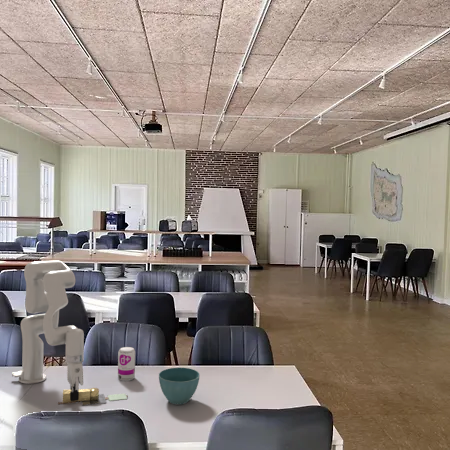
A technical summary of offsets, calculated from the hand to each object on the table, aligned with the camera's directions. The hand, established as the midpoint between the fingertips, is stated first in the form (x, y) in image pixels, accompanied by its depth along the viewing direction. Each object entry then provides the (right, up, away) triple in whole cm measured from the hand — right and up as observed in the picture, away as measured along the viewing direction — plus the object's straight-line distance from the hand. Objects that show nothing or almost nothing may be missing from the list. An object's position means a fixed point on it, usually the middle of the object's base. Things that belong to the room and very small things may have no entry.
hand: (74, 400), depth 213 cm
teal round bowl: (+44, -3, +8) cm, 45 cm away
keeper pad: (+17, -2, +9) cm, 19 cm away
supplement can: (+16, -1, +34) cm, 37 cm away
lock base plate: (+7, -2, +6) cm, 9 cm away
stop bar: (+2, -1, +4) cm, 5 cm away
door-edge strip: (+7, -2, +6) cm, 9 cm away
